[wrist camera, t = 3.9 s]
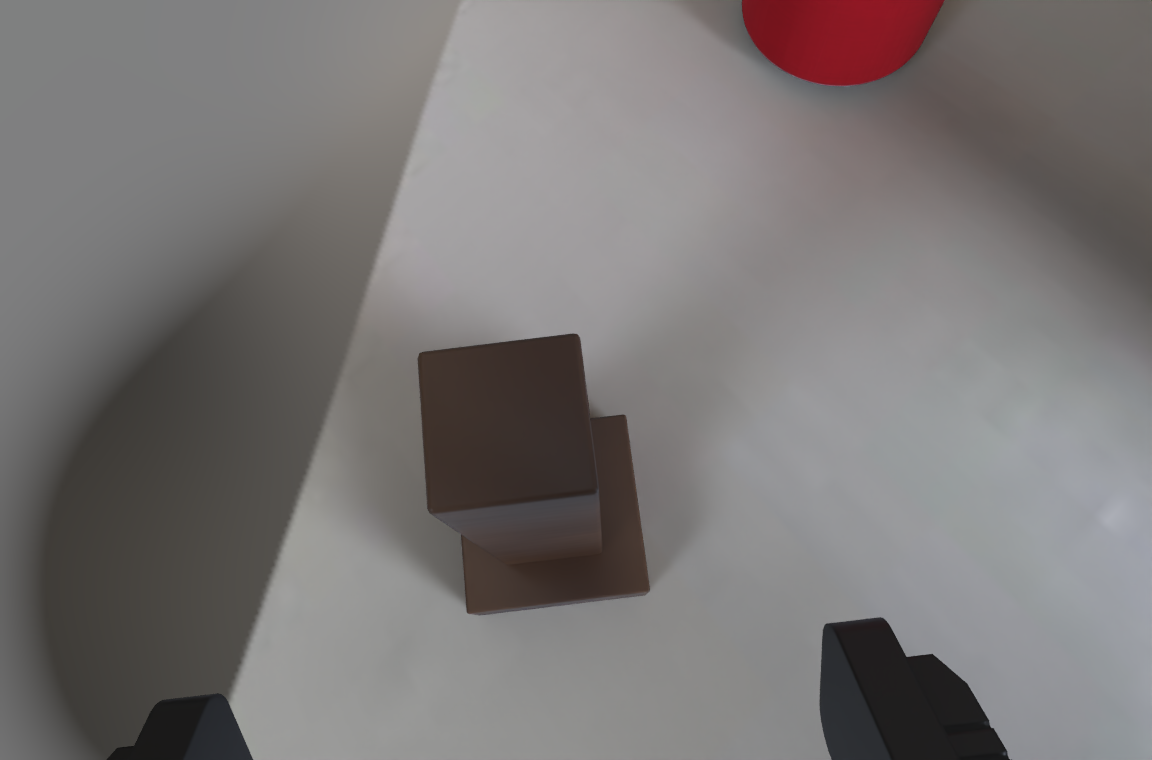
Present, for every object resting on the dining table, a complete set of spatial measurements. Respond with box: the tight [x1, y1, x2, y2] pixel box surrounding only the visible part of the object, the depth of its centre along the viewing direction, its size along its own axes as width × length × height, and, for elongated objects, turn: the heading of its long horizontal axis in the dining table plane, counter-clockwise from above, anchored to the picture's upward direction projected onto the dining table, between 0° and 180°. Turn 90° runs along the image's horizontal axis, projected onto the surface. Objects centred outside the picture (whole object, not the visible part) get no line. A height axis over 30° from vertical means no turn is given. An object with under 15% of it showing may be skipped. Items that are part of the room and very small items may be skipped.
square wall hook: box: [418, 334, 650, 615], centre depth 19 cm, size 5×5×12 cm
